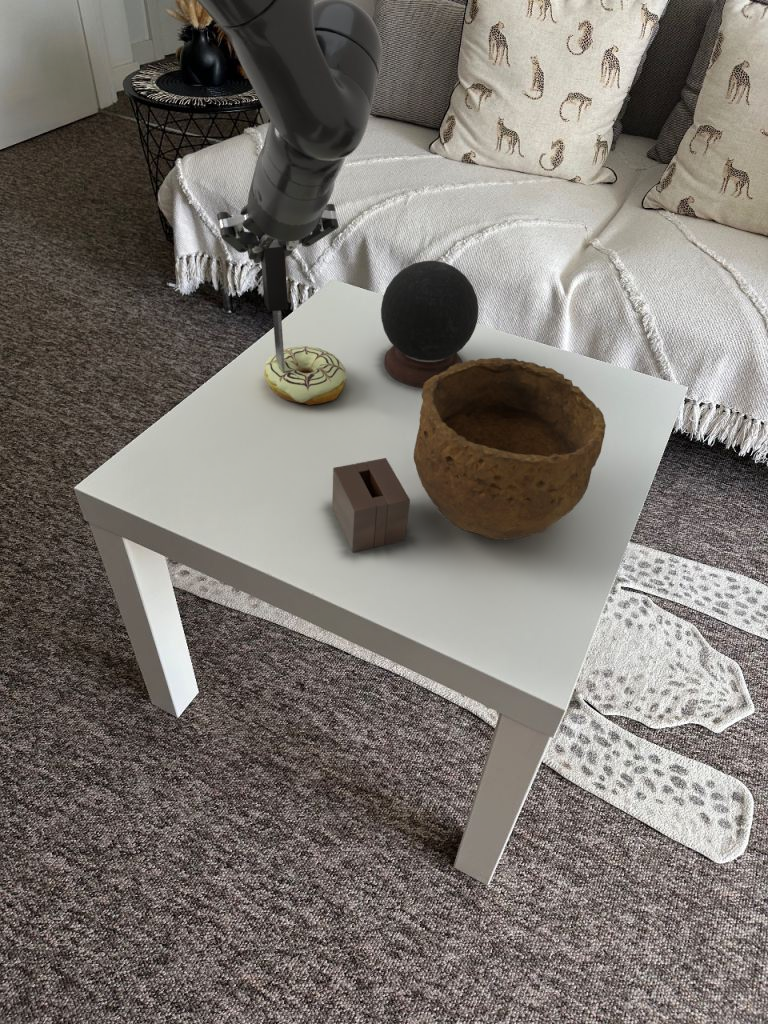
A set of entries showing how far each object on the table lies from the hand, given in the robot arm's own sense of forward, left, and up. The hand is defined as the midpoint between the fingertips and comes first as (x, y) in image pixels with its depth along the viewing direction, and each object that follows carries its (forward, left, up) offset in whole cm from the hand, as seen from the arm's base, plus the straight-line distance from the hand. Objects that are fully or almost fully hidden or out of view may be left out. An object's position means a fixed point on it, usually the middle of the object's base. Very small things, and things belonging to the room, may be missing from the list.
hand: (267, 253), depth 85 cm
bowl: (+34, -15, -17) cm, 41 cm away
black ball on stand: (+18, +11, -17) cm, 28 cm away
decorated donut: (+5, -1, -17) cm, 18 cm away
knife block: (+22, -22, -17) cm, 36 cm away
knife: (+3, -3, -13) cm, 14 cm away
